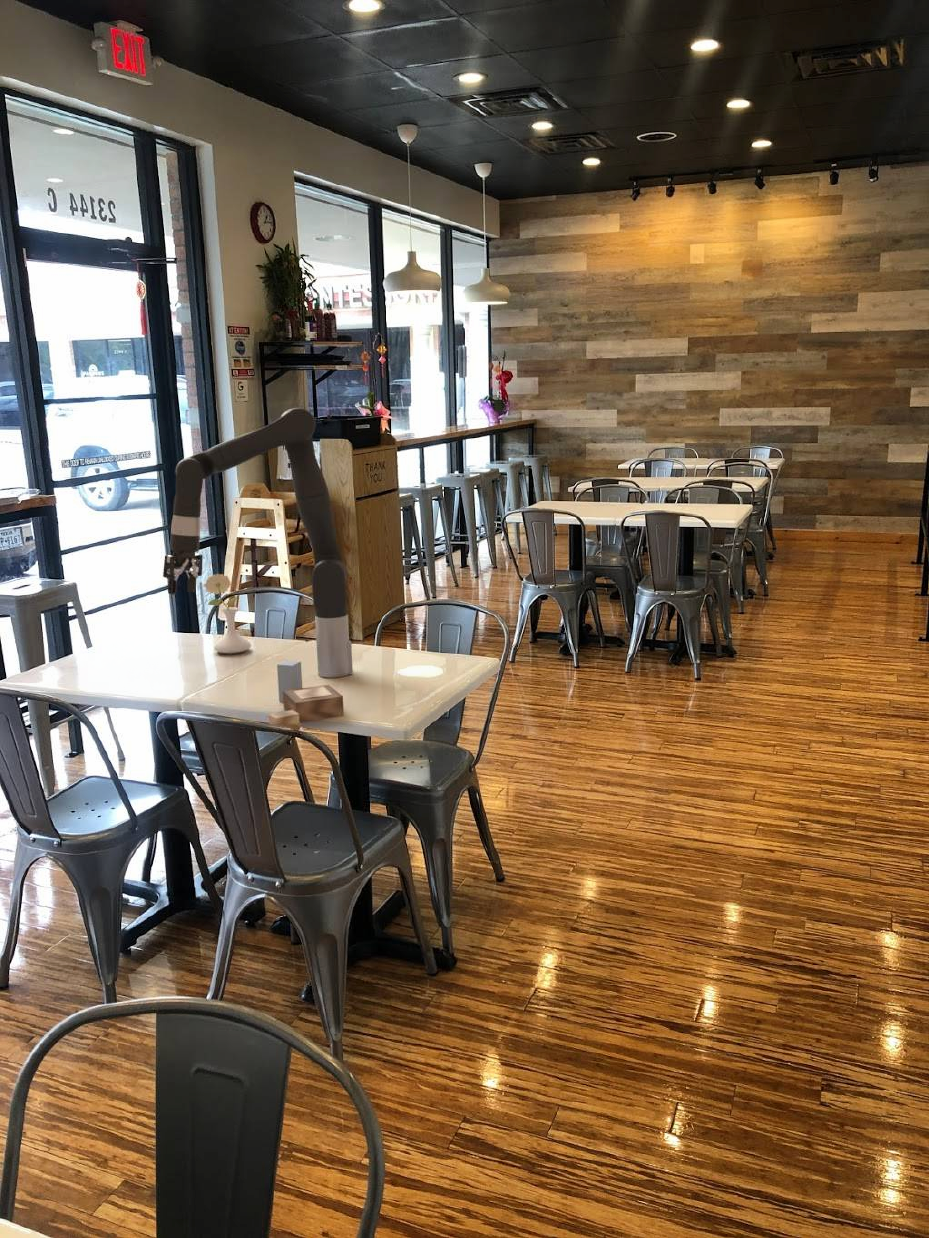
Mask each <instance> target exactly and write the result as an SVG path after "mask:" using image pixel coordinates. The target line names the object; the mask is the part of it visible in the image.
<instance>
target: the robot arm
mask: <svg viewBox="0 0 929 1238" xmlns="http://www.w3.org/2000/svg"><path fill="white" fill-rule="evenodd" d="M316 425H317V423H316V419H315V417H314V415H313V414H312V412H310V411H308V410H307V409H305V408H302V407H293V408H290V409H288V410H286V411H284V412H283V413H282V415H280V417H279V418H277V419H276V420H274V421H272V422H271V423H269V424H267V425H265V426H263V427H260V428H258V429H255V430H254V431H250V432H248V433H244V434H242V435H240V436H236V437H233V438H231V439H227V440H226V441H222V442H221V443H218V444H216V445H214V446H212V447H210V448H209V449H207V450H205V451H202V452H199V453H196V454H193V455H191V456H188V457H186V458H183V459H181V460H179V462H178V463H177V464H176V466H175V476H176V477H175V496H174V501H173V511H172V512H173V513H172V520H171V526H170V527H171V531H170V543H169V544H170V546H169V549H170V550H171V551H173V552H172V555H168V554H166V555H164V563H163V571H162V572H163V573H162V577H163V578H166V579H167V580H168V584H167V593H168V595H177V591H178V579H179V576H180V575H182V574H183V572H185V573H186V576H187V577H188V578H187V585H186V590H187V593H195V592H196V587H197V579H198V578H199V577H201V576H202V575H203V554H200V553H198V552H199V551H200V540H201V510H202V509H201V507H202V504H201V503H202V501H201V499H202V498H201V497H202V491H203V484H204V480H205V479H206V478H209V477H211V476H213V475H215V474H219V473H223V472H226V471H228V470H231V469H233V468H235V467H236V466H239V465H241V464H244V463H246V462H248V461H250V460H252V459H254V458H255V457H258V456H260V455H262V454H264V453H266V452H268V451H271V450H274V449H277V448H279V447H282V446H284V447H285V450H286V454H287V456H288V459H289V464H290V465H289V466H290V470H291V472H290V473H291V479H292V484H293V485H292V486H293V491H294V495H295V500H296V505H297V510H298V514H299V517H300V519H301V522H302V525H303V527H304V530H305V532H306V534H307V536H308V538H309V541H310V544H311V547H312V548H311V549H312V555H313V563H314V568H313V570H312V572H311V589H312V604H313V609H314V620H315V623H314V624H315V639H316V640H315V641H316V656H317V658H316V660H317V675H318V676H320V677H322V678H341V677H345V676H349V675H353V671H354V669H353V652H352V651H353V649H352V641H351V640H350V636H349V635H350V634H349V633H350V632H349V630H350V629H349V614H348V613H349V611H348V602H347V591H346V590H347V589H346V588H347V587H346V579H347V577H348V576H347V575H348V574H347V573H348V572H347V567H346V565H345V561H344V558H343V556H342V553H341V549H340V546H339V543H338V540H337V539H338V538H337V534H336V527H335V518H334V513H333V507H332V501H331V497H330V493H329V489H328V488H329V487H328V485H327V482H326V480H325V479H326V478H325V477H324V474H323V472H322V470H321V467H320V466H319V465H320V464H319V463H318V459H317V457H316V453H315V448H314V442H313V441H314V440H313V435H314V433H315V430H316ZM168 571H169V572H168Z"/></svg>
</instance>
